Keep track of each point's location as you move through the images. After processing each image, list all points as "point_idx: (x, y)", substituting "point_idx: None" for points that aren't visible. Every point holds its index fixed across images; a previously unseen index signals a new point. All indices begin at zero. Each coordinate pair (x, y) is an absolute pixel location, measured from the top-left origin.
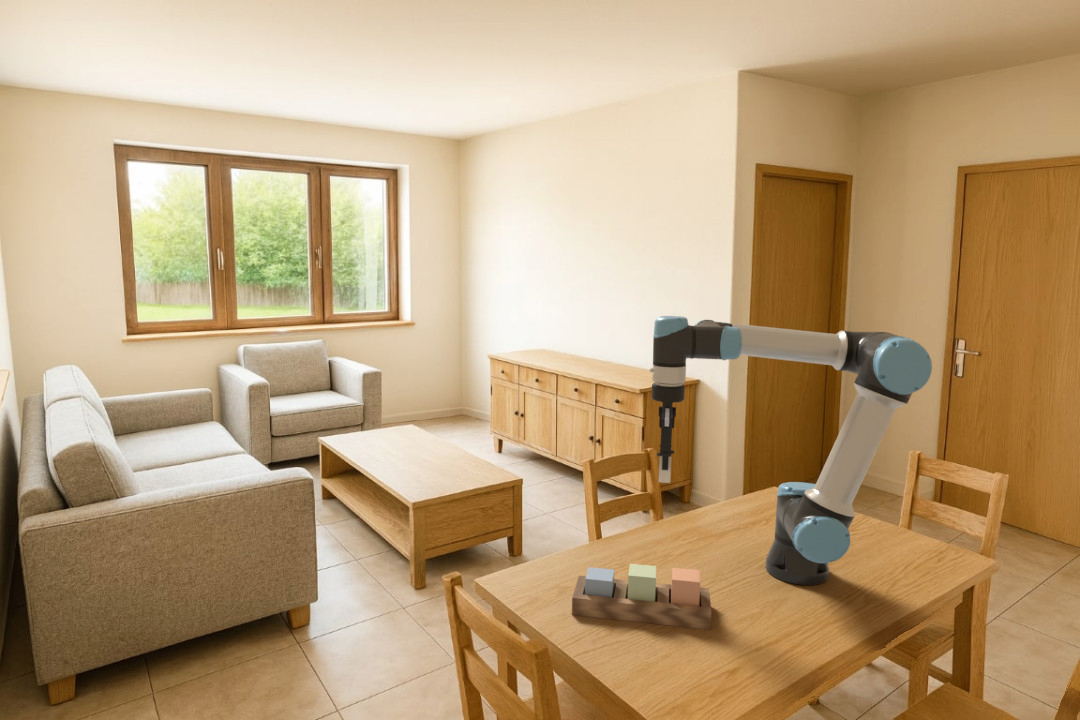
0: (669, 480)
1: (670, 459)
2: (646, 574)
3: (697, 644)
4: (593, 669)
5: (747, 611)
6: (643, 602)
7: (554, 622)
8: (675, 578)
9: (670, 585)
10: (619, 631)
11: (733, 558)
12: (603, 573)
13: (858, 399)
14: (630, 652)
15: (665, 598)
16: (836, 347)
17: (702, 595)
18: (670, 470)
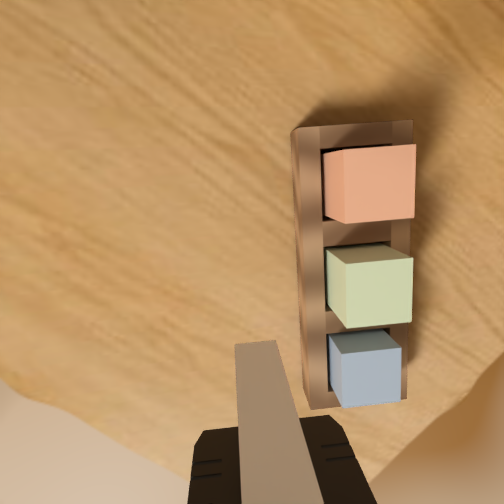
0: (278, 353)
1: (315, 477)
2: (397, 281)
3: (446, 149)
4: None
5: (294, 41)
6: None
7: (417, 397)
8: (406, 209)
9: (306, 219)
10: (426, 292)
11: (3, 68)
12: (366, 372)
13: None
14: (488, 263)
15: (371, 224)
16: None
17: (339, 142)
18: (290, 393)
